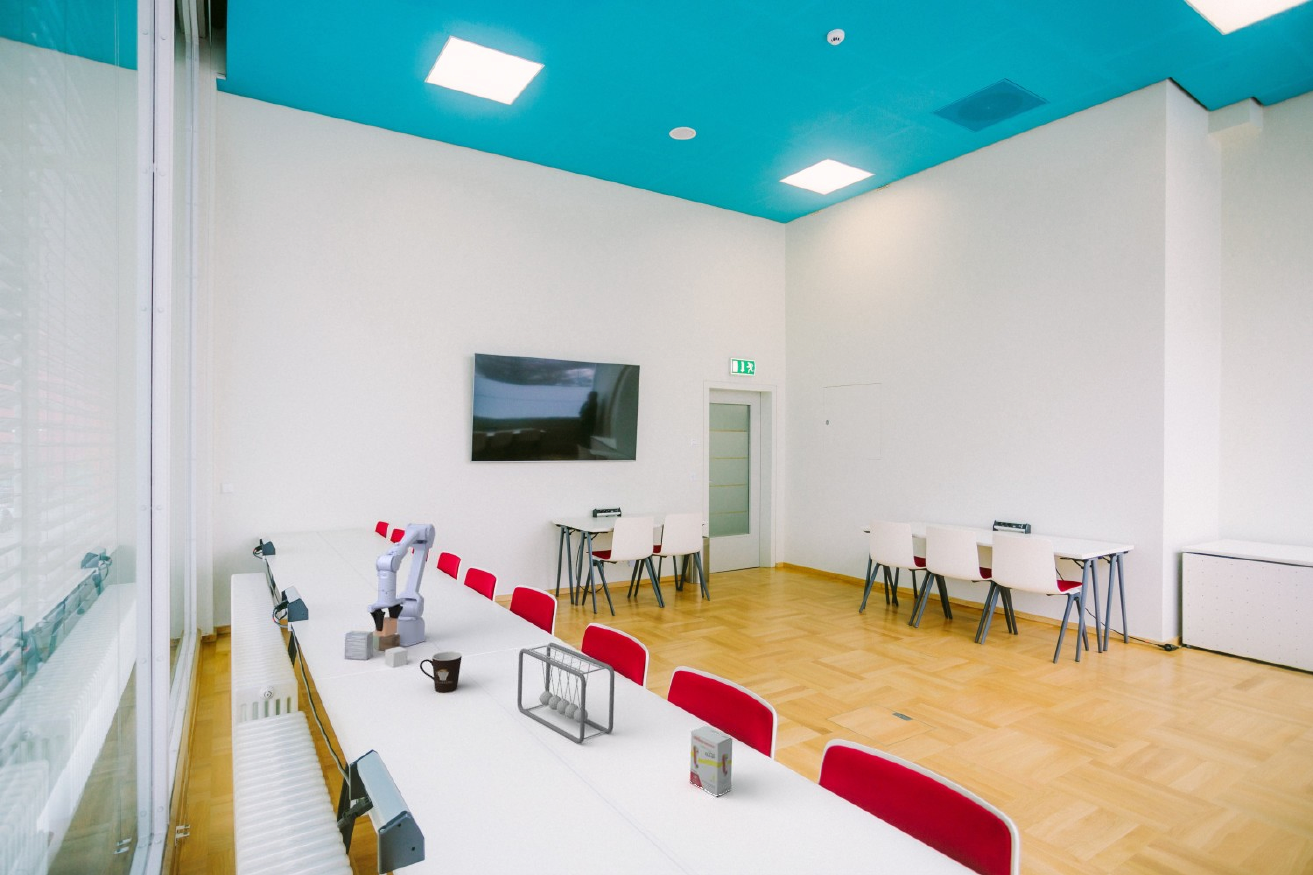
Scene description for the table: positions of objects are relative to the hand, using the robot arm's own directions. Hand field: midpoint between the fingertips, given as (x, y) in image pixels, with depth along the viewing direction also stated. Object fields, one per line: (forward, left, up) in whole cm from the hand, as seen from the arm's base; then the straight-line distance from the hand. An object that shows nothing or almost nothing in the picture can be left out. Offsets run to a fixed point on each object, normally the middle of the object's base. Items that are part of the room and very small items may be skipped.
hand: (386, 628), depth 235 cm
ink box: (+25, +133, -10) cm, 136 cm away
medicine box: (+6, -6, -10) cm, 13 cm away
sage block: (-6, -11, -10) cm, 16 cm away
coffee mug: (+12, +39, -10) cm, 42 cm away
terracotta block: (0, 0, -2) cm, 2 cm away
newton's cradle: (+13, +85, -10) cm, 86 cm away
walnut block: (-6, -5, -10) cm, 12 cm away
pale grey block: (+4, +10, -10) cm, 14 cm away
